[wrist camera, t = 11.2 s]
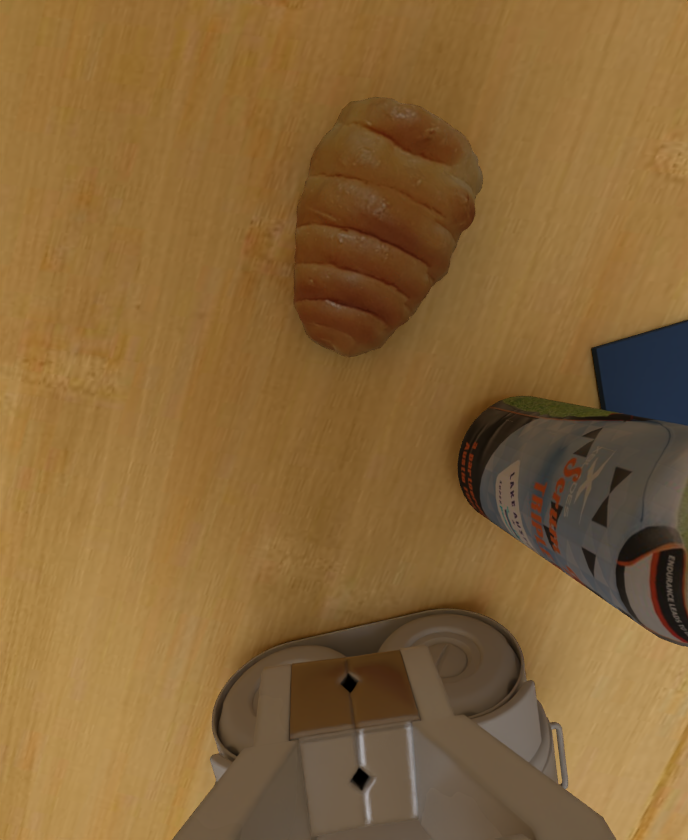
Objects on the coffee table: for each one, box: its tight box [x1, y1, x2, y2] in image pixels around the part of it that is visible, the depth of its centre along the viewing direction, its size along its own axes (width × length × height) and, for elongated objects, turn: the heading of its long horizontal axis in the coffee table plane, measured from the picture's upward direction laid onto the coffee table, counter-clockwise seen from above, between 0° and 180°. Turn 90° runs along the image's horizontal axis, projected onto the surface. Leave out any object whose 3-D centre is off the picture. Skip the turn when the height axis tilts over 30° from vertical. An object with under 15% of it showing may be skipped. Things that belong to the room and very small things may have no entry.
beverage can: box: [458, 396, 688, 647], centre depth 17 cm, size 6×7×12 cm
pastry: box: [294, 97, 483, 357], centre depth 18 cm, size 9×7×4 cm
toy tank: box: [210, 609, 568, 840], centre depth 18 cm, size 15×11×13 cm
